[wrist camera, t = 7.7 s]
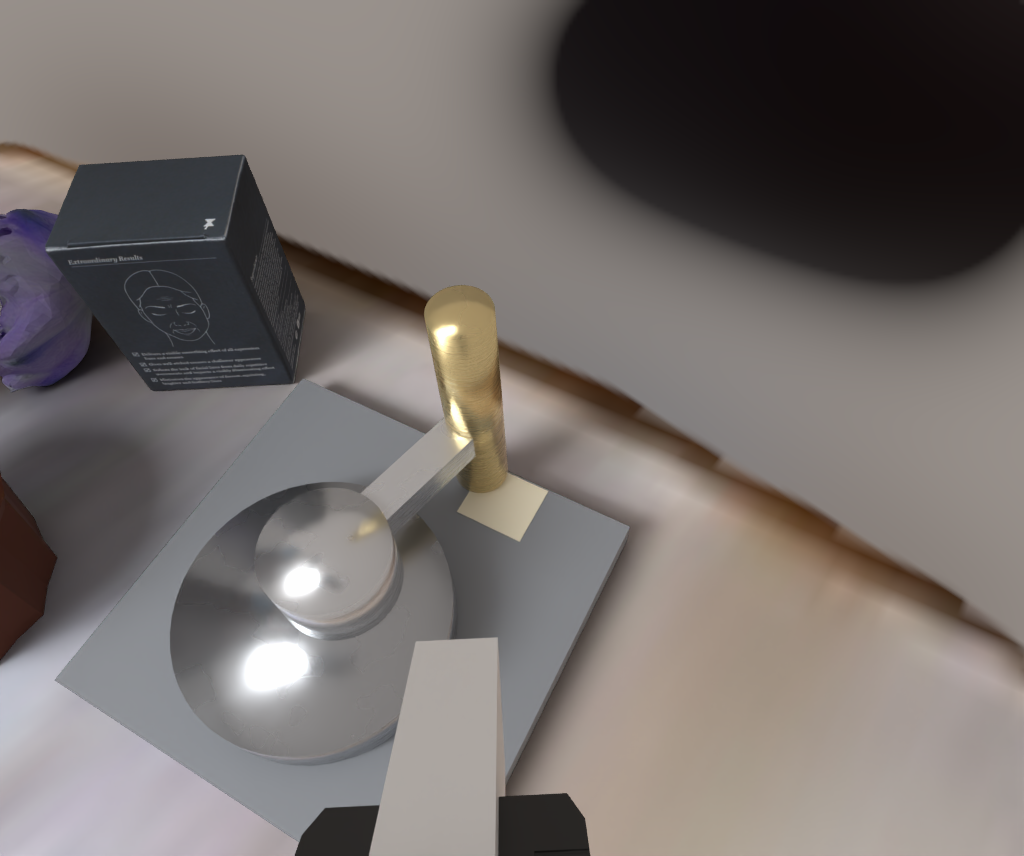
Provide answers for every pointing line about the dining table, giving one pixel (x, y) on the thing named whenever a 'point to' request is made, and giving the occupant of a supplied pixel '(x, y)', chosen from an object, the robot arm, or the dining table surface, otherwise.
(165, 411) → the dining table surface
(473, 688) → the robot arm
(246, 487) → the stand
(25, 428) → the dining table surface
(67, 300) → the flower
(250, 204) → the box
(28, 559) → the muffin
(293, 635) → the crank handle
